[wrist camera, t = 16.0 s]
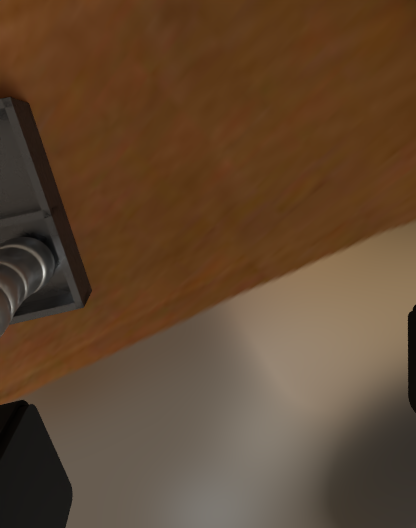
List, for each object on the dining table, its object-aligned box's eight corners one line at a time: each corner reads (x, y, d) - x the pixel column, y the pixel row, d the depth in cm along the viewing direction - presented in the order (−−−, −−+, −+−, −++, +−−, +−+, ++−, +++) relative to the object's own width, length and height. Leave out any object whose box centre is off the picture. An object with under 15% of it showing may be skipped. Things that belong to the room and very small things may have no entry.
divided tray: (-82, 125, 37) (-117, 121, 32) (28, 103, 38) (9, 97, 33) (1, 311, 45) (-18, 330, 40) (91, 290, 45) (83, 307, 40)
